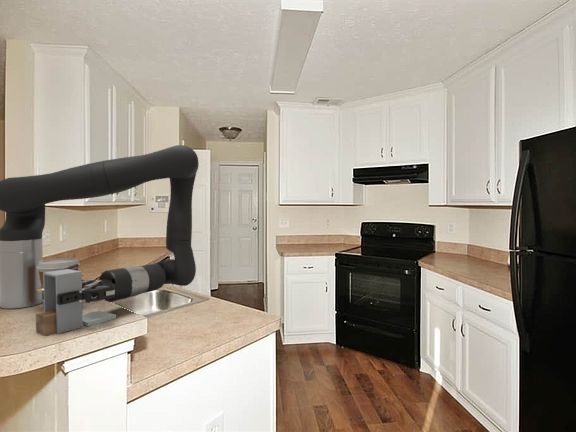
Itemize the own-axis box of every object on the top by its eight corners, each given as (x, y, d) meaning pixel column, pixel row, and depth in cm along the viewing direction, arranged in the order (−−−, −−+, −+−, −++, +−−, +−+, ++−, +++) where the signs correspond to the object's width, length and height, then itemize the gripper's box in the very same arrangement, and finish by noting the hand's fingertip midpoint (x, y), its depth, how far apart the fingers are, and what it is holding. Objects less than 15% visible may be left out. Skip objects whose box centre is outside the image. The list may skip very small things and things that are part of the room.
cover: (44, 328, 76) (43, 272, 75) (69, 322, 80) (68, 269, 80) (57, 333, 73) (56, 275, 72) (82, 326, 77) (81, 271, 77)
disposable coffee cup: (72, 300, 99) (72, 256, 98) (87, 306, 93) (86, 260, 92) (31, 307, 91) (30, 261, 91) (44, 314, 85) (43, 265, 85)
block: (36, 332, 74) (35, 313, 74) (57, 327, 77) (56, 308, 77) (45, 336, 72) (44, 316, 71) (66, 330, 75) (66, 311, 75)
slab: (71, 320, 81) (70, 317, 81) (99, 313, 86) (98, 310, 86) (87, 326, 77) (87, 322, 77) (116, 318, 83) (116, 314, 83)
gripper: (107, 265, 92) (33, 276, 78) (142, 270, 84) (67, 284, 70) (108, 294, 92) (34, 310, 78) (143, 302, 85) (68, 321, 70)
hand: (50, 297), depth 74 cm, fingers closed on cover, 5 cm apart
